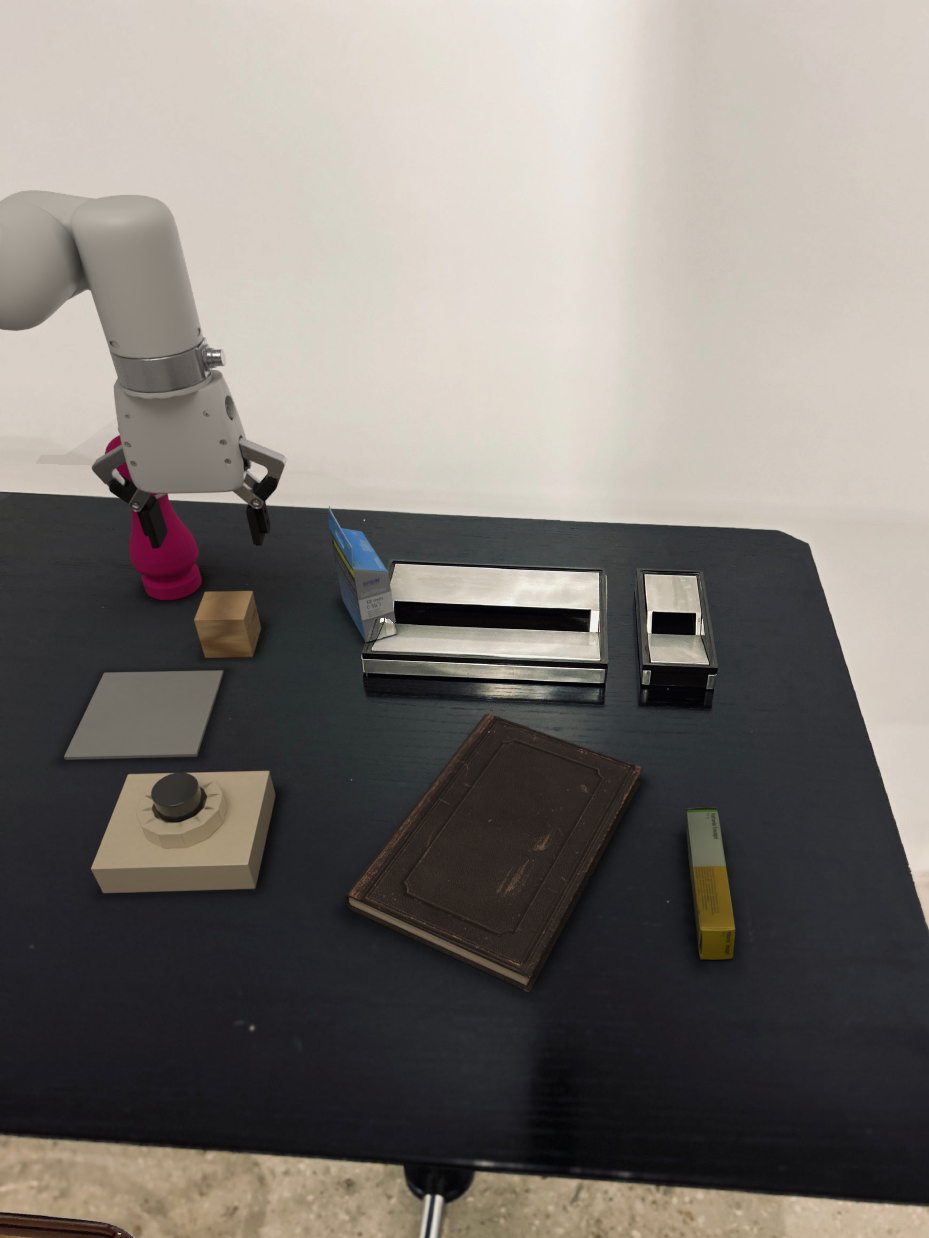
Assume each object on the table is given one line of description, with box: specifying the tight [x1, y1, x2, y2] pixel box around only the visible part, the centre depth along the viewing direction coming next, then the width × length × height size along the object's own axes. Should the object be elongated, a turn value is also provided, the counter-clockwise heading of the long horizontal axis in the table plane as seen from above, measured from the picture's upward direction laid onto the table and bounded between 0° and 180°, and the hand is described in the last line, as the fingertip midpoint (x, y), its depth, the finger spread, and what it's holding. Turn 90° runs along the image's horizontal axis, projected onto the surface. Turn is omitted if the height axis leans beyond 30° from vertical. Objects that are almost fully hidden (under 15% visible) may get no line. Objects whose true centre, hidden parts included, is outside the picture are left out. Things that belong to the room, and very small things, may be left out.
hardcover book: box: [344, 713, 643, 994], centre depth 73 cm, size 16×23×2 cm
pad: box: [63, 669, 225, 761], centre depth 85 cm, size 12×12×1 cm
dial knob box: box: [90, 770, 277, 894], centre depth 72 cm, size 12×10×5 cm
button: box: [151, 772, 204, 823], centre depth 70 cm, size 4×4×2 cm
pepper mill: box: [104, 427, 202, 601], centre depth 95 cm, size 7×7×20 cm
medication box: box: [685, 806, 736, 961], centre depth 69 cm, size 12×3×4 cm, turn 177°
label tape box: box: [328, 505, 396, 643], centre depth 93 cm, size 9×4×12 cm, turn 25°
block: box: [193, 590, 262, 659], centre depth 92 cm, size 5×5×5 cm
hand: (210, 539), depth 85 cm, fingers open, 9 cm apart
